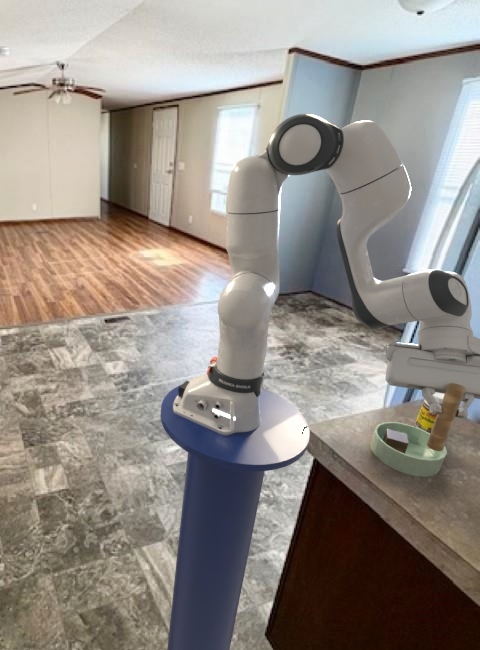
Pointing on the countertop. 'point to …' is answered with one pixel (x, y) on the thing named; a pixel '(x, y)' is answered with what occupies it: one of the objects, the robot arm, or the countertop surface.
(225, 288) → the robot arm
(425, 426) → the supplement bottle
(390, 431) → the block
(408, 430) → the bowl
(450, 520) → the countertop surface
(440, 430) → the wooden cylinder
